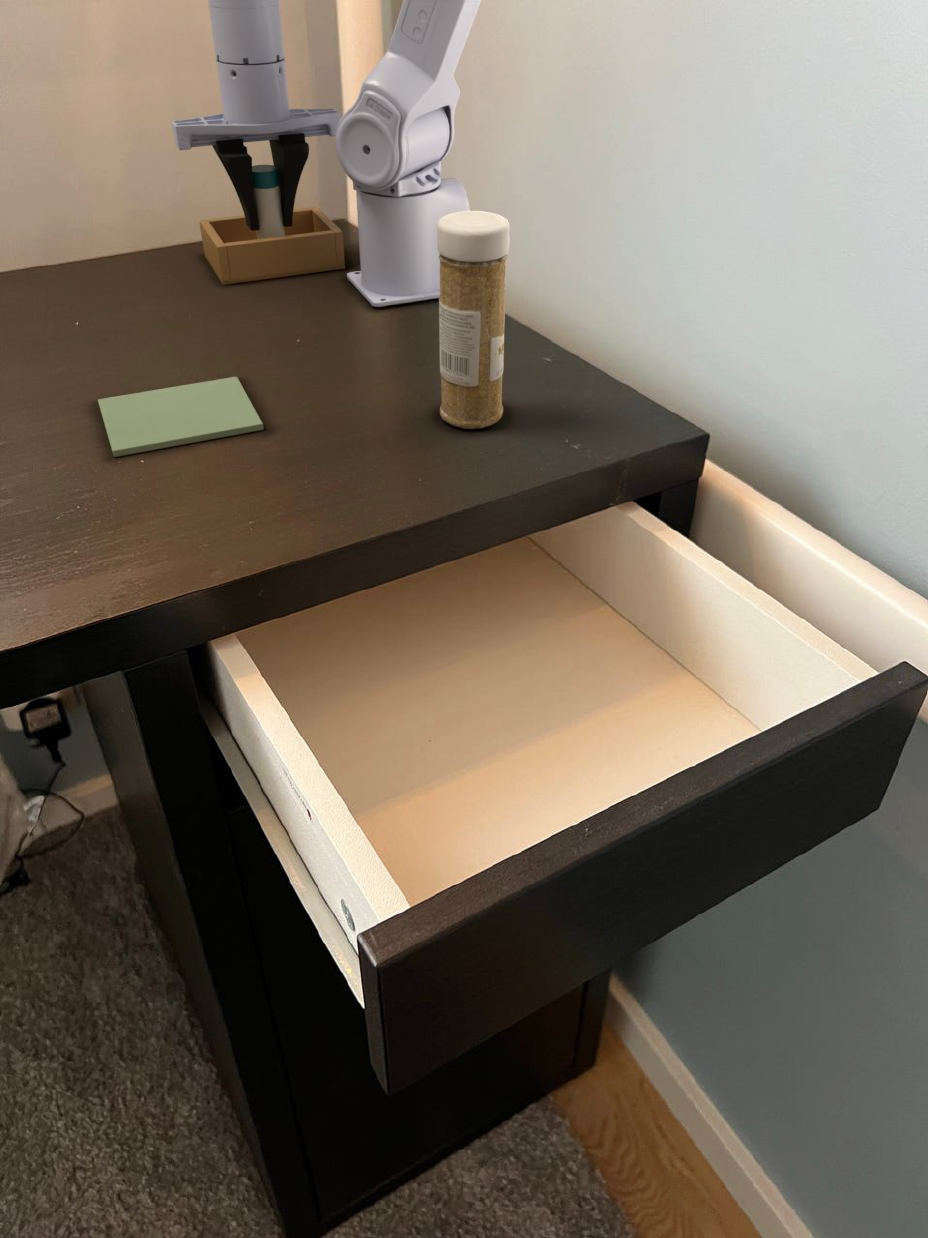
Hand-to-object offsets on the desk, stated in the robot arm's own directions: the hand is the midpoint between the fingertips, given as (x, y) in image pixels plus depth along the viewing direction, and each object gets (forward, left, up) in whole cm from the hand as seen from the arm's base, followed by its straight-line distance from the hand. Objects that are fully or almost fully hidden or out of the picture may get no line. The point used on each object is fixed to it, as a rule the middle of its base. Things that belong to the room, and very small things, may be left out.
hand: (269, 225), depth 90 cm
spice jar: (-5, +36, -4) cm, 36 cm away
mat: (+14, +28, -3) cm, 32 cm away
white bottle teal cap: (0, 0, -3) cm, 3 cm away
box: (0, 0, -3) cm, 3 cm away
